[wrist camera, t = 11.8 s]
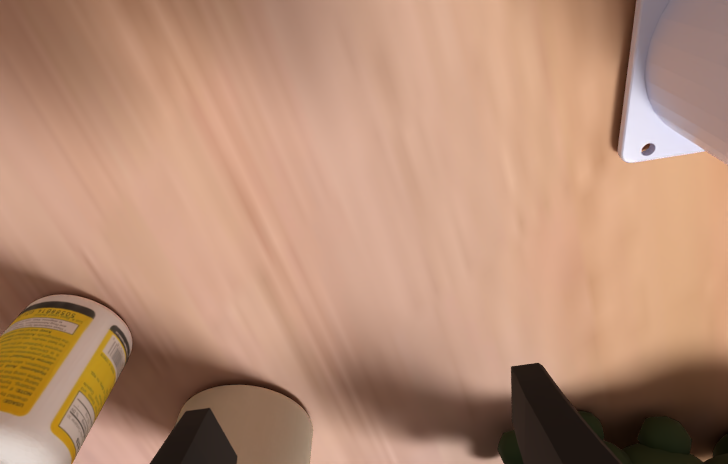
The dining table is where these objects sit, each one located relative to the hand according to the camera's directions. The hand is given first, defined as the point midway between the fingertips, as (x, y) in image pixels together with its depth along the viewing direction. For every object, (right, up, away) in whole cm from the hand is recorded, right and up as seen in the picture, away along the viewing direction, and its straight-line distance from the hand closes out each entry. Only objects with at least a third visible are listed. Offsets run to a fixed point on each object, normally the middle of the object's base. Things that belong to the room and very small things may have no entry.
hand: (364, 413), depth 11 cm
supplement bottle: (-15, -1, +13) cm, 20 cm away
